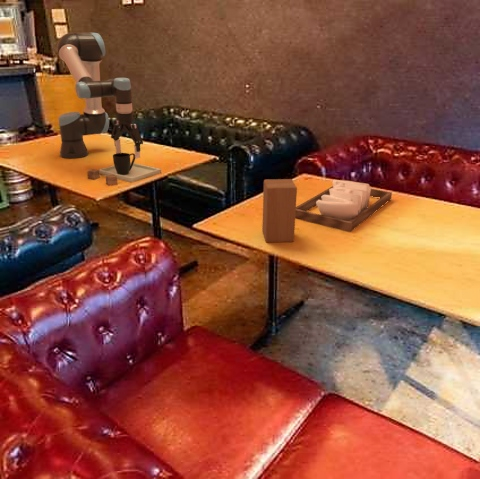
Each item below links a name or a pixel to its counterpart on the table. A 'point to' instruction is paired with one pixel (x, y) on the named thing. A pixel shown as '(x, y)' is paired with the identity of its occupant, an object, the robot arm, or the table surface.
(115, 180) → the walnut cube
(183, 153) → the table surface
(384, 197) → the book corral
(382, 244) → the table surface
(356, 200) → the white wavy slab sculpture
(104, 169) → the tray
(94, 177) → the walnut cube
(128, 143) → the table surface
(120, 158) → the mug
